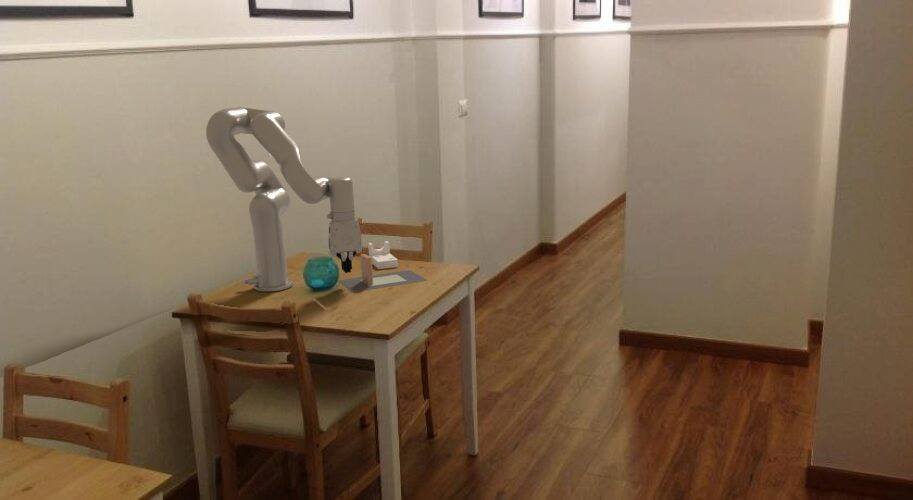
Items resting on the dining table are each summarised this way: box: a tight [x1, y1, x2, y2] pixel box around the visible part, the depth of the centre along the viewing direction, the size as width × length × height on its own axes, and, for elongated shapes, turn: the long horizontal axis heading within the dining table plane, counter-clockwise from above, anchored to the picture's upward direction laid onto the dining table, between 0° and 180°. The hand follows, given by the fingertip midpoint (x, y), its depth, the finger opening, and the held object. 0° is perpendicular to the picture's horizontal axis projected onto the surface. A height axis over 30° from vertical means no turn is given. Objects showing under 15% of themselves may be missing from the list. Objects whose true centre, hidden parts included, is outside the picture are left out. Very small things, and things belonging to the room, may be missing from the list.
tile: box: [360, 253, 374, 285], centre depth 271 cm, size 2×6×9 cm, turn 25°
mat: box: [337, 269, 428, 293], centre depth 274 cm, size 26×16×1 cm, turn 115°
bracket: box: [367, 240, 399, 270], centre depth 295 cm, size 13×7×8 cm, turn 20°
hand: (347, 271), depth 268 cm, fingers closed
